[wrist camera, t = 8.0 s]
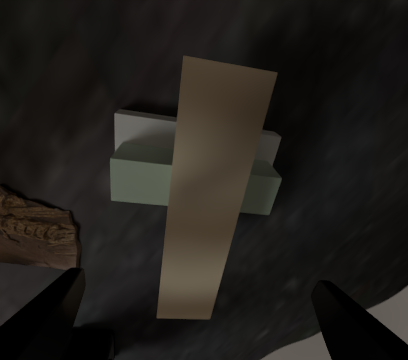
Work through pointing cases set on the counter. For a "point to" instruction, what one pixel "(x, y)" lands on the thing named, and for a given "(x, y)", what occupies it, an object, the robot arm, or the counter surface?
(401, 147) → the counter surface
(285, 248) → the counter surface
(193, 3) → the counter surface
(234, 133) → the beech bar
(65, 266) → the fossil slab
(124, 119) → the fulcrum board
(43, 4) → the counter surface
